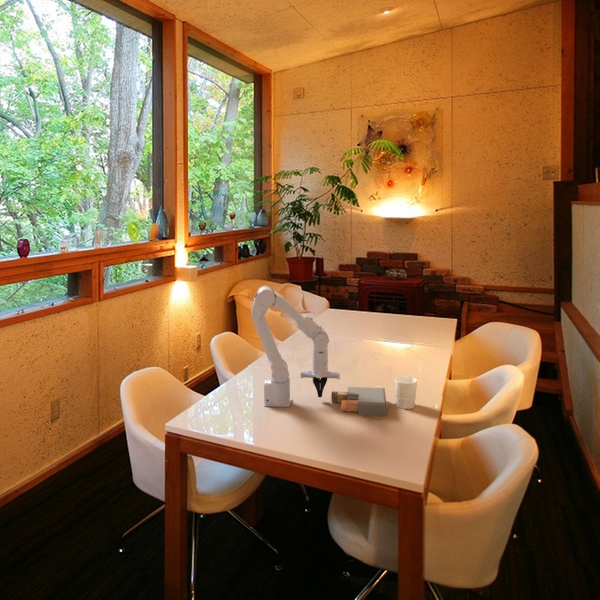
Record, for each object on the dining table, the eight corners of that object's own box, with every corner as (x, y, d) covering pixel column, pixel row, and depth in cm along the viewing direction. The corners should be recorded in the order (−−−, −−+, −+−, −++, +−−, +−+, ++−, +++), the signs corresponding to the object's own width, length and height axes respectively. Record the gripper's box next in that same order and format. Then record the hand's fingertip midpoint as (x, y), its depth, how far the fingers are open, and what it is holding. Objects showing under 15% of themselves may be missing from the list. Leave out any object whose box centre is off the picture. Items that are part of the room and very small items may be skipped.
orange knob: (341, 412, 184) (341, 402, 183) (341, 408, 188) (341, 398, 187) (372, 413, 183) (372, 403, 182) (372, 409, 186) (372, 399, 186)
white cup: (400, 411, 185) (401, 384, 183) (390, 402, 193) (391, 377, 191) (420, 408, 187) (421, 382, 185) (409, 400, 195) (410, 375, 193)
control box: (346, 414, 183) (346, 401, 182) (348, 399, 197) (348, 386, 196) (385, 416, 181) (386, 402, 180) (384, 400, 195) (384, 388, 194)
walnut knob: (331, 403, 192) (331, 393, 192) (332, 399, 196) (332, 389, 195) (361, 404, 191) (361, 394, 190) (361, 400, 195) (361, 390, 194)
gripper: (299, 364, 189) (299, 399, 191) (339, 365, 187) (339, 400, 190) (301, 358, 196) (301, 392, 198) (340, 359, 194) (339, 393, 196)
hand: (320, 396), depth 194 cm, fingers closed
